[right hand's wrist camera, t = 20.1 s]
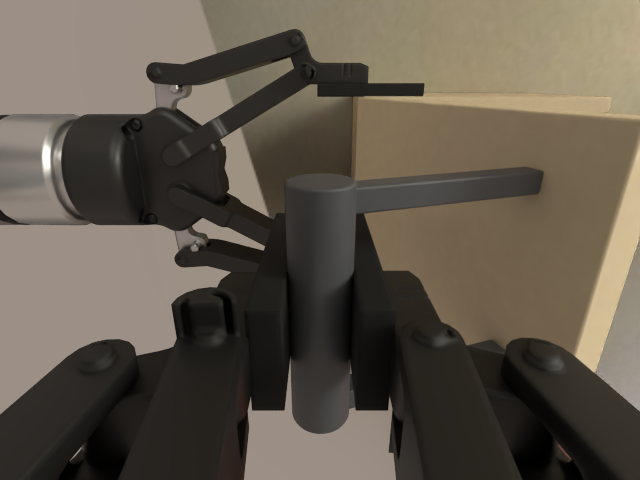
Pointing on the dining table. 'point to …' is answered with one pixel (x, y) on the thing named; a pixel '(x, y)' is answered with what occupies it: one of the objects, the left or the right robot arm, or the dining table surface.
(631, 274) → the dining table surface
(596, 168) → the lid
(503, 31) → the dining table surface
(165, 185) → the left robot arm
